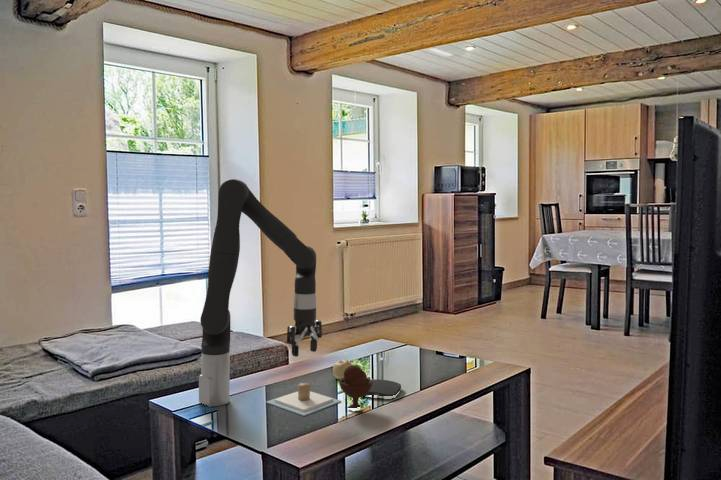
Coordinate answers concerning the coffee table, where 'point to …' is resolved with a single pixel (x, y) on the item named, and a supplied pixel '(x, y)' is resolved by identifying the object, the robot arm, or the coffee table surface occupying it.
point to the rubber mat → (302, 411)
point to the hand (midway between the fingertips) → (304, 353)
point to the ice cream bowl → (355, 384)
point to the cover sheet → (303, 404)
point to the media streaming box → (384, 388)
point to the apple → (340, 368)
